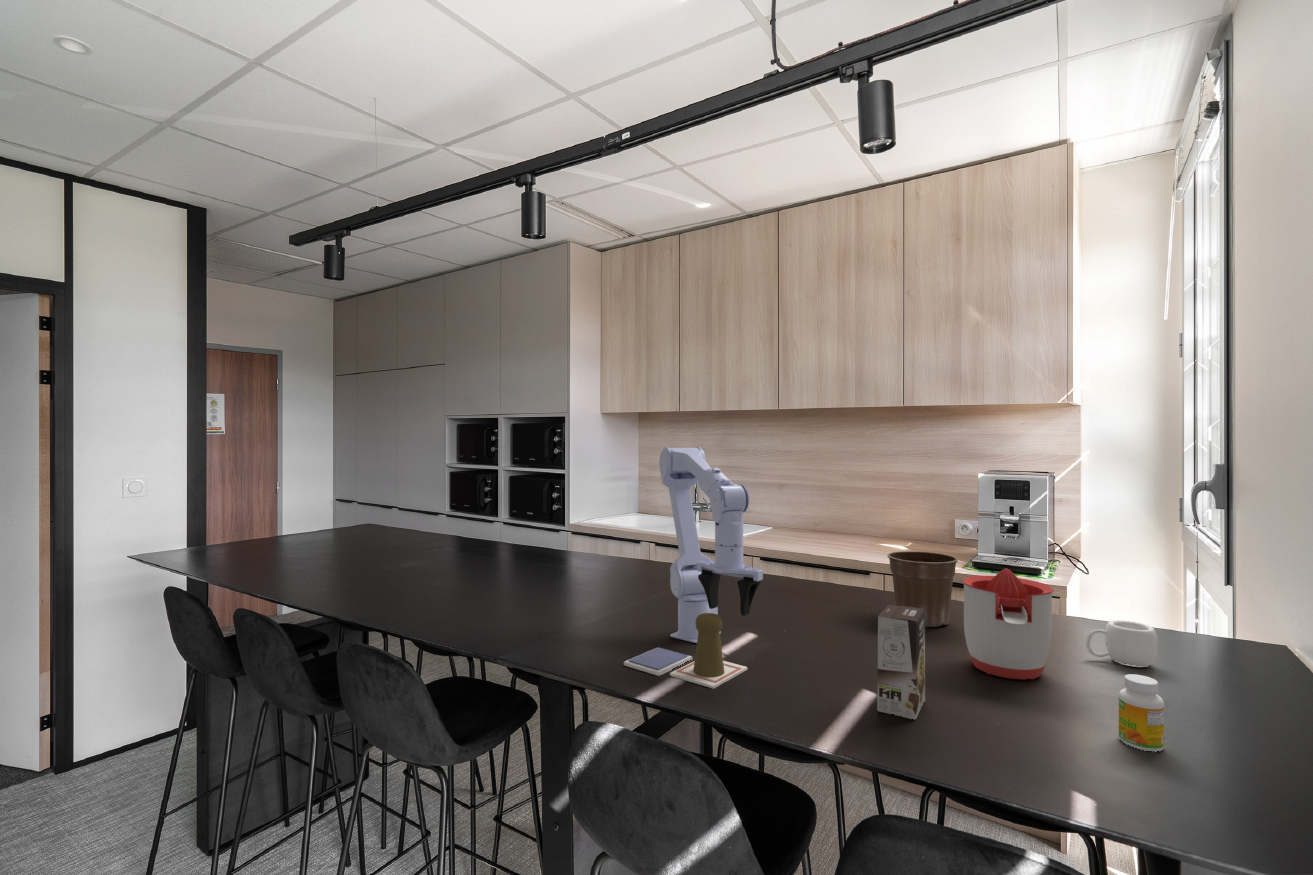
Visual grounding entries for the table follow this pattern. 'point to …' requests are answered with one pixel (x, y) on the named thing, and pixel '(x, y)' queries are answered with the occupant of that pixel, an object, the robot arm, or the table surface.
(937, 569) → the plant pot
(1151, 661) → the mug
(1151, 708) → the supplement bottle
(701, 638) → the cork
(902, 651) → the coffee box
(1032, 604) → the citrus juicer
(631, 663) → the ink pad
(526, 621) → the table surface
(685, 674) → the marked board
